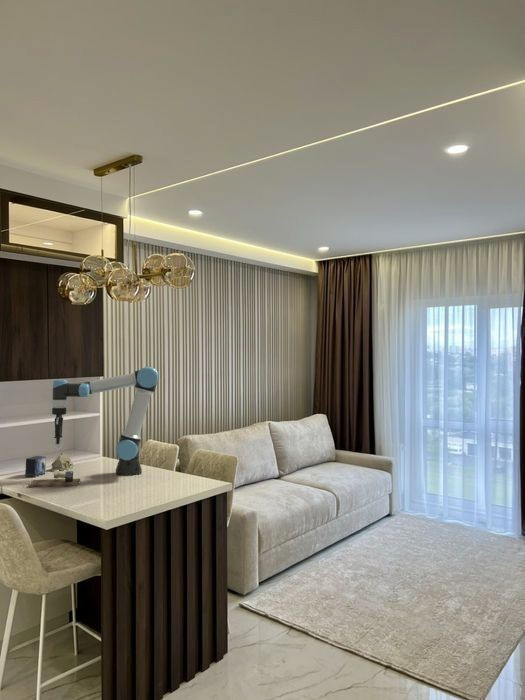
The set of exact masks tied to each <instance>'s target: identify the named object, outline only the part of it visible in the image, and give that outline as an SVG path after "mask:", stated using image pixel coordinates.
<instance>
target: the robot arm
mask: <svg viewBox="0 0 525 700" xmlns="http://www.w3.org/2000/svg"><path fill="white" fill-rule="evenodd" d="M159 378H160V377H159V372H158V370H157V369H156V368H155V367H152V366H144V367H142V368H140V369H138V370H134V371H133V372H132V373H127V374H121V375H116V376H111V377H106V378H101V379H96V380H95V379H94V380H90V381H83V382H79V383H69V382H68V380H67V379H54V380H53V383H52V401H51V402H50V403H51V405H52V409H51V415H54V416H55V418H54V436H53V438H54V439H55V444H54V445H55V448H54V449H55V451H61V450H62V438H63V423H64V417H63V415H66V414H67V406H68V405H67V403H68V400H67V398H69V397H71V398H87V397H89V395H93V394H98V393H102V392H103V393H105V392H108V391H109V392H110V391H114V390H118V389H119V390H120V389H125V388H129V387H130V388H131V387H134V389H135V394H134V398H133V401H132V405H131V409H130V412H129V414H128V417H127V422H126V425H125V429H124V431H122V432H121V433H120V435H119V439H118V444H117V445H116V447H115V449H116V450H115V452H116V455H117V456H118V462H117V465H116V468H115V473H116V475H117V476H136V475H135V474H138V475H140V473H141V474H142V473H143V472H142V470H143V468H142V466H141V462H140V444H141V440H142V437H141V431H142V428H143V424H144V420H145V416H146V413H147V409H148V406H149V403H150V400H151V396H152V394H154V393H155V392H156V388H157V385H158V382H159V380H160V379H159Z"/></svg>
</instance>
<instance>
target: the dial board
mask: <svg viewBox="0 0 525 700" xmlns="http://www.w3.org/2000/svg"><path fill="white" fill-rule="evenodd" d="M79 482H81V478H73V481H65V478H53V479H52V478H51V479H50V478H48V479H47V478H46V479H32V481H31V482H30V483H29V484H28V487H39V488H66V487H69V486H70V487H71V486H74V487H78V486H79V484H80V483H79ZM28 487H27V488H28ZM71 488H72V487H71Z"/></svg>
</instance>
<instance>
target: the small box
mask: <svg viewBox="0 0 525 700" xmlns="http://www.w3.org/2000/svg"><path fill="white" fill-rule="evenodd" d="M46 458H47V457H46V456H43V455H42V456H41V455H35V456H31V457H28V458H27V457H26V458H25V472H24V477H25V478H36V476H37V477H40V476H39V475H41V476H43V474H44V475H46V466H47V465H46V464H47V463H46V461H47V459H46Z"/></svg>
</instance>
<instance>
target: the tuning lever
mask: <svg viewBox="0 0 525 700" xmlns="http://www.w3.org/2000/svg"><path fill="white" fill-rule="evenodd" d="M53 479H65V481H73V479H74V471H72V470H68V471H64V473H62V472H60V471H59V470H54V471H53Z"/></svg>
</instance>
